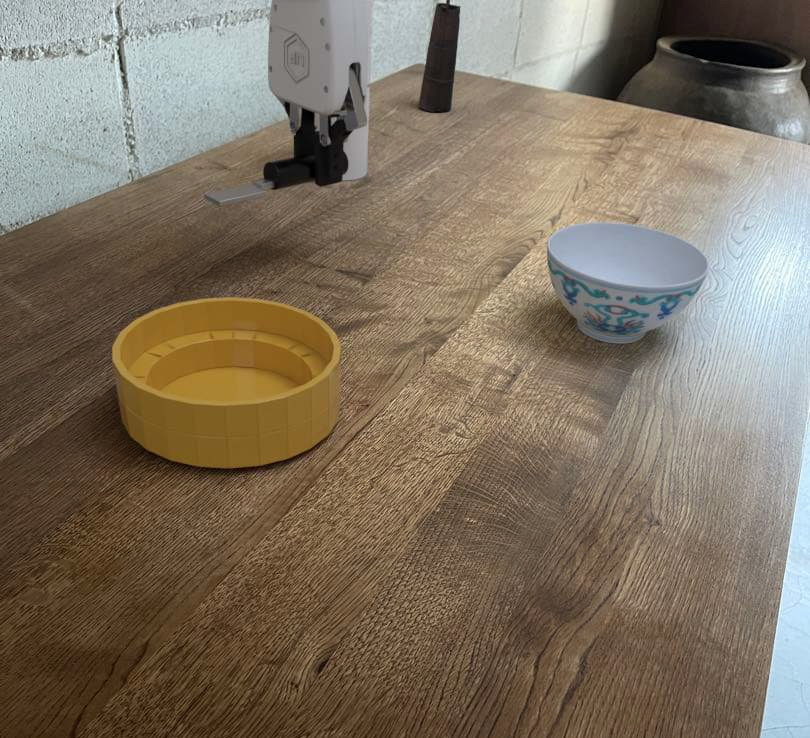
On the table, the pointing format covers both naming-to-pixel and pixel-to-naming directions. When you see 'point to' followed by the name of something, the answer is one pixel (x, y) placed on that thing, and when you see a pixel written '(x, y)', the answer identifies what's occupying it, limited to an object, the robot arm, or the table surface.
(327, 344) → the bowl
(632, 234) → the chinaware
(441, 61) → the butter churn
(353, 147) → the cylindrical container
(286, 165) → the putty knife
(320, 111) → the robot arm
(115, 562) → the table surface
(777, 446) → the table surface
